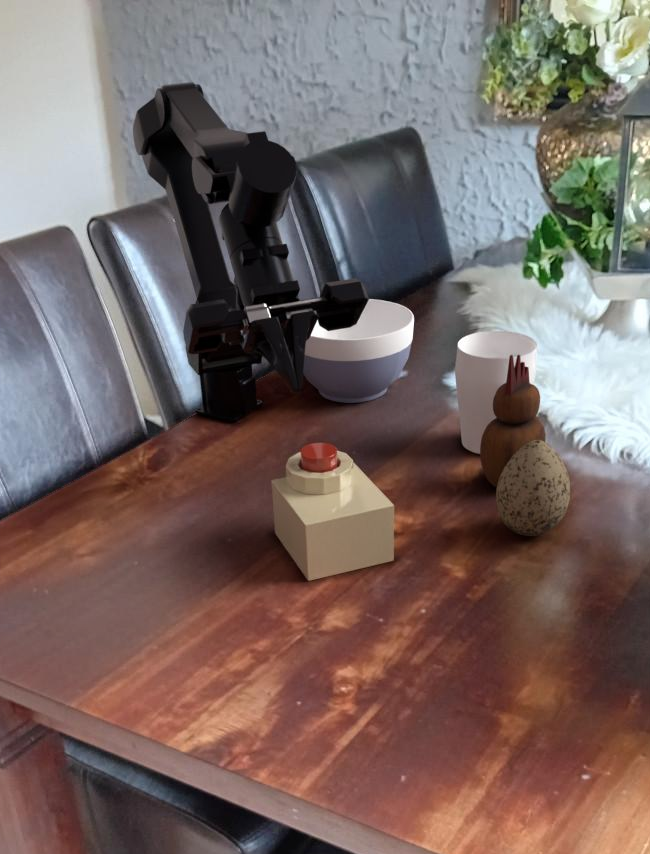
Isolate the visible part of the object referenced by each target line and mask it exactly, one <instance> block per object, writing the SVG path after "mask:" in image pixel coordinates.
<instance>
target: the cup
mask: <svg viewBox="0 0 650 854" xmlns="http://www.w3.org/2000/svg"><path fill="white" fill-rule="evenodd" d="M537 349H538V344H537V341H536V340H535V339H534V338H532V337H530V336H528V335H526V334H523V333H519V332H514V331H508V330H507V331H505V330H486V331H480V332H474V333H470V334H468V335H465V336H463V337H462V338H460V339H459V341H458V342H457V349H456V357H455V366H454V376H455V387H456V397H457V407H458V417H459V429H460V437H461V445H462V446H463V448H465V449H466V450H468V451H470V452H471V453H474V454H477V455H480V445H481V439H482V435H483V433H484V431H485V429H486V427H487V425H488V424H489V423H490V422H491V421H492V420H494V419H495V418H497V417H496V416H495V414H494V412H493V399H494V396H495V394H496V391H497V389H498V388H499V387H500V386H501V385H503V384H505V383H506V381H507V373H508V365H509V358H510V355H513V360H514V368H515V364H516V359H517V355H520V360H521V362H525V367H528V368H529V383H531V384H533V385H534V383H535V380H536V379H535V378H536V374H537V351H538V350H537Z"/></svg>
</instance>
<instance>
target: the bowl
mask: <svg viewBox="0 0 650 854" xmlns="http://www.w3.org/2000/svg"><path fill="white" fill-rule="evenodd" d="M414 324H415V315H414V314H413V312H412V311H411V309H409V308H408V307H406V306H404V305H402V304H399V303H396V302H392V301H387V300H383V299H374V298H369V300H368V302H367V304H366V306H365V308H364V310H363V312H362V314H361V316H360V318H359V320H358V322H357V324H356V325H354V326H352V327H350V328H344V329H338V330H332V331H327V330H325V329H324V328H322V327H321V326H319V323H318V320H317V322H316V324H315V327H314V329H313V331H312V334H311V336H310V338H309V339H308V340H307V341H306V345H305V357H304V371H303V376H304V377H305V379H306V381H307V382H308V383H309V384H311V385H312V386H313V387H314V388H316V389H317V390H318V393H319V394H320V396H322V397H323V398H325V399H327V400H329V401H332V402H336V403H337V402H338V403H342V404H343V403H346V404H354V403H355V404H356V403H365V402H370V401H373V400H376V399H378V398H380V397H382V396H384V394H386V392H387V390H388V388H389V386H391V385H392V384H393V383H394V382H395V381H396V380H397V379H398V378H399V376H400V375H401V374H402V371H403V369H404V367H405V366H406V364H407V361H408V359H409V357H410V353H411V348H412V342H413V340H414V338H413V337H414Z"/></svg>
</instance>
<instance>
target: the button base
mask: <svg viewBox="0 0 650 854" xmlns="http://www.w3.org/2000/svg"><path fill="white" fill-rule="evenodd" d="M337 458H338V467H337V468H336V469H334V470H332V471H328V472H324V473H312V472H307V471H304V470H302V468H301V451H299V452H296V453H295V454H293V455H291V456H290V457H288V459H287V462H286V464H285V477H280V478H275V479H272V480H271V481H270V482H271V494H272V495H271V496H272V508H273V522H274V534H275V535H276V537H277V539H278V540H279V541H280V543H281V544H282V546H283V547H284V548H285V550H286V551H287V553H288V554H289V556H290V557H291V559H292V560H293V561H294V563H295V564H296V566H297V567H298V568H299V570H300V571H301V573H302V575H303V576H304V577H305V579H306V580H307V582H310V581H315V580H318V579H323V578H327V577H332V576H336V575H340V574H344V573H348V572H352V571H356V570H361V569H364V568H368V567H372V566H373V567H374V566H377V565H378V566H379V565H381V564H386V563H389V562H394V560H395V559H394V558H395V504H394V503H392V501H391V500H390V499H389V498H388V497H387V496H386V495H385V493H383V491H382V490H380V489H379V487H378V486H377V485H376V484H375V483H374V482H373V481H372V480H371V479H370V478H369V477H368V476H367V475H366V474H365V473H364V472H363V471H362V470H361V468H360V467H359V466H358V465H357V464H356V463H355V462H354V460H353V459H352V458H351V457H350V456H349V454H347V453H346V452H343V451H340V450H337Z"/></svg>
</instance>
